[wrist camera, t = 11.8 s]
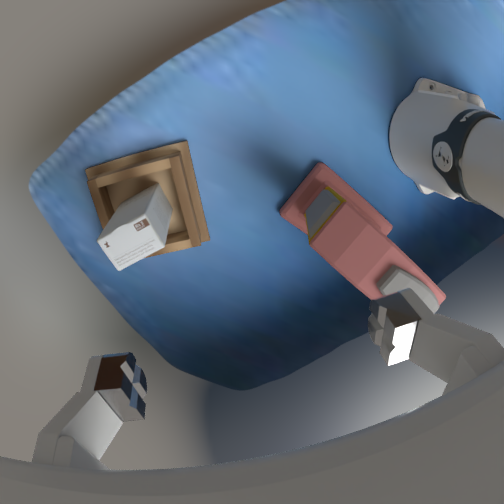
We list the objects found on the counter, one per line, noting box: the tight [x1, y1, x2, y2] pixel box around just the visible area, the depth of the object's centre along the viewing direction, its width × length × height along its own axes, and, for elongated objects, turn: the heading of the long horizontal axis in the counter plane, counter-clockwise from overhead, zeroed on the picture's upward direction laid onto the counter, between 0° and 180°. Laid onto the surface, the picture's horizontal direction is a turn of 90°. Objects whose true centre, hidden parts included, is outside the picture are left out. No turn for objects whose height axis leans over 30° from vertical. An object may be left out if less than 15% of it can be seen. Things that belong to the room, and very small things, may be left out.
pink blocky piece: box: [279, 162, 446, 313], centre depth 37 cm, size 22×9×22 cm, turn 53°
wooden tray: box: [85, 141, 210, 258], centre depth 39 cm, size 14×14×4 cm
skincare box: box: [97, 183, 173, 271], centre depth 35 cm, size 6×4×12 cm
